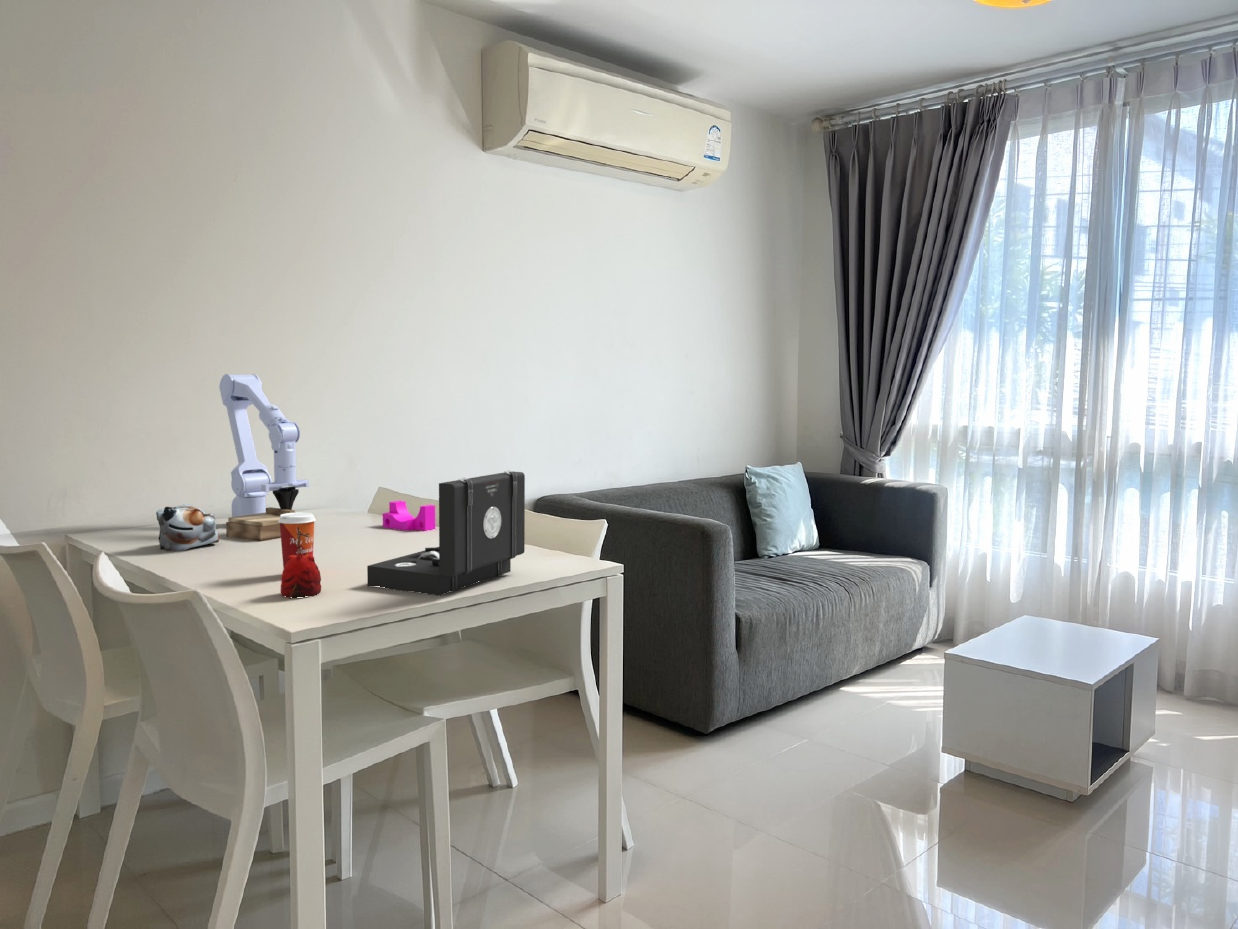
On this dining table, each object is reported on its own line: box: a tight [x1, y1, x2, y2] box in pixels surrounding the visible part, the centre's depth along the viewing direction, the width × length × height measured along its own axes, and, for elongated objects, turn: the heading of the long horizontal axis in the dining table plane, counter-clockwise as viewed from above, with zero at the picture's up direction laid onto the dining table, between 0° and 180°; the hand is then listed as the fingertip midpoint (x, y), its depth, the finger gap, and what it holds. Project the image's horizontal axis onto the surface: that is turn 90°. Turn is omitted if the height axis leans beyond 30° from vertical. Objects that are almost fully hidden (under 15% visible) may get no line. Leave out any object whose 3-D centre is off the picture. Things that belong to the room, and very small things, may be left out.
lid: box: [227, 506, 296, 526], centre depth 247 cm, size 14×12×3 cm
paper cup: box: [278, 511, 317, 569], centre depth 197 cm, size 8×8×14 cm
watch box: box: [366, 469, 526, 596], centre depth 194 cm, size 26×28×24 cm
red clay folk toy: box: [280, 526, 322, 598], centre depth 179 cm, size 8×7×15 cm
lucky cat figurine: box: [155, 504, 220, 552], centre depth 228 cm, size 15×12×14 cm
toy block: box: [382, 500, 436, 532], centre depth 261 cm, size 15×6×8 cm, turn 55°
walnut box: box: [225, 521, 281, 542], centre depth 247 cm, size 14×12×4 cm
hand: (286, 515), depth 254 cm, fingers closed
